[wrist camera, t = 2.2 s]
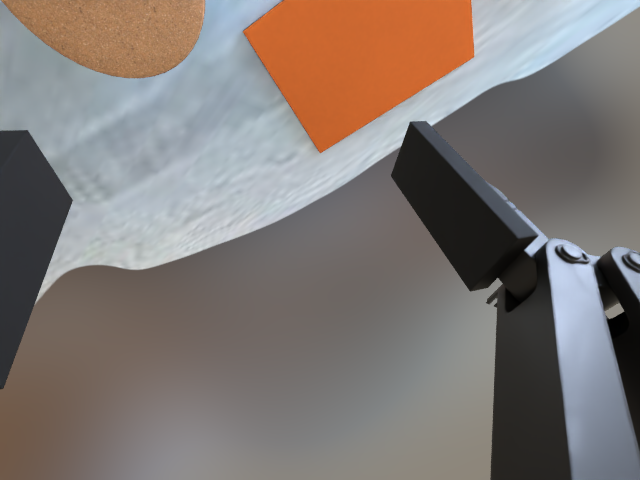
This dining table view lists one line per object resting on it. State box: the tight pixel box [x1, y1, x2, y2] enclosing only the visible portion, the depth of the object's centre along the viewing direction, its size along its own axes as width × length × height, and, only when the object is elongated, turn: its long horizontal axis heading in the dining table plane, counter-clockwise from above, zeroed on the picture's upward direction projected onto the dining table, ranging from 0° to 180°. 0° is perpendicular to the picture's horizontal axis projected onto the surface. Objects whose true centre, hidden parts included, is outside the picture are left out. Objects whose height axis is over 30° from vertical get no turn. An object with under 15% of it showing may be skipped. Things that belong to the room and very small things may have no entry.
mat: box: [243, 0, 474, 153], centre depth 30 cm, size 20×15×1 cm
